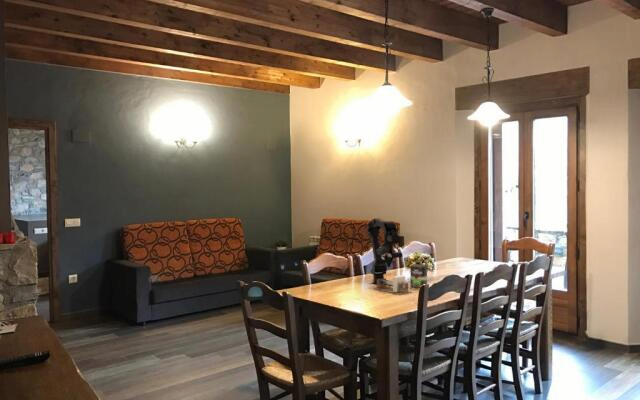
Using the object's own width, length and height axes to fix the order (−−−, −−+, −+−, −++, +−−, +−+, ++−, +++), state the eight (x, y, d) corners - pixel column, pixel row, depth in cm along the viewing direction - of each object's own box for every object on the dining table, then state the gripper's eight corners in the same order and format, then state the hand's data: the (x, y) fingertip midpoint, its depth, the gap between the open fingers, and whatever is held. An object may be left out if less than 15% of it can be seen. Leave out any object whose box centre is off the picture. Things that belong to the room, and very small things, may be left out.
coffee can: (424, 290, 319) (424, 267, 319) (408, 289, 324) (408, 266, 324) (429, 287, 328) (429, 264, 328) (413, 286, 333) (413, 263, 333)
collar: (393, 291, 312) (393, 276, 312) (401, 289, 317) (401, 275, 316) (396, 292, 310) (396, 277, 310) (405, 290, 314) (405, 276, 314)
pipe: (374, 288, 323) (374, 279, 322) (386, 286, 328) (386, 277, 328) (398, 294, 307) (398, 284, 307) (410, 291, 313) (410, 282, 313)
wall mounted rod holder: (373, 289, 323) (373, 279, 323) (385, 287, 329) (385, 277, 329) (399, 295, 306) (399, 285, 306) (411, 293, 312) (411, 282, 312)
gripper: (368, 241, 328) (368, 266, 329) (390, 244, 313) (389, 271, 314) (381, 240, 335) (381, 264, 336) (403, 243, 320) (403, 269, 321)
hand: (388, 267), depth 326 cm, fingers closed
